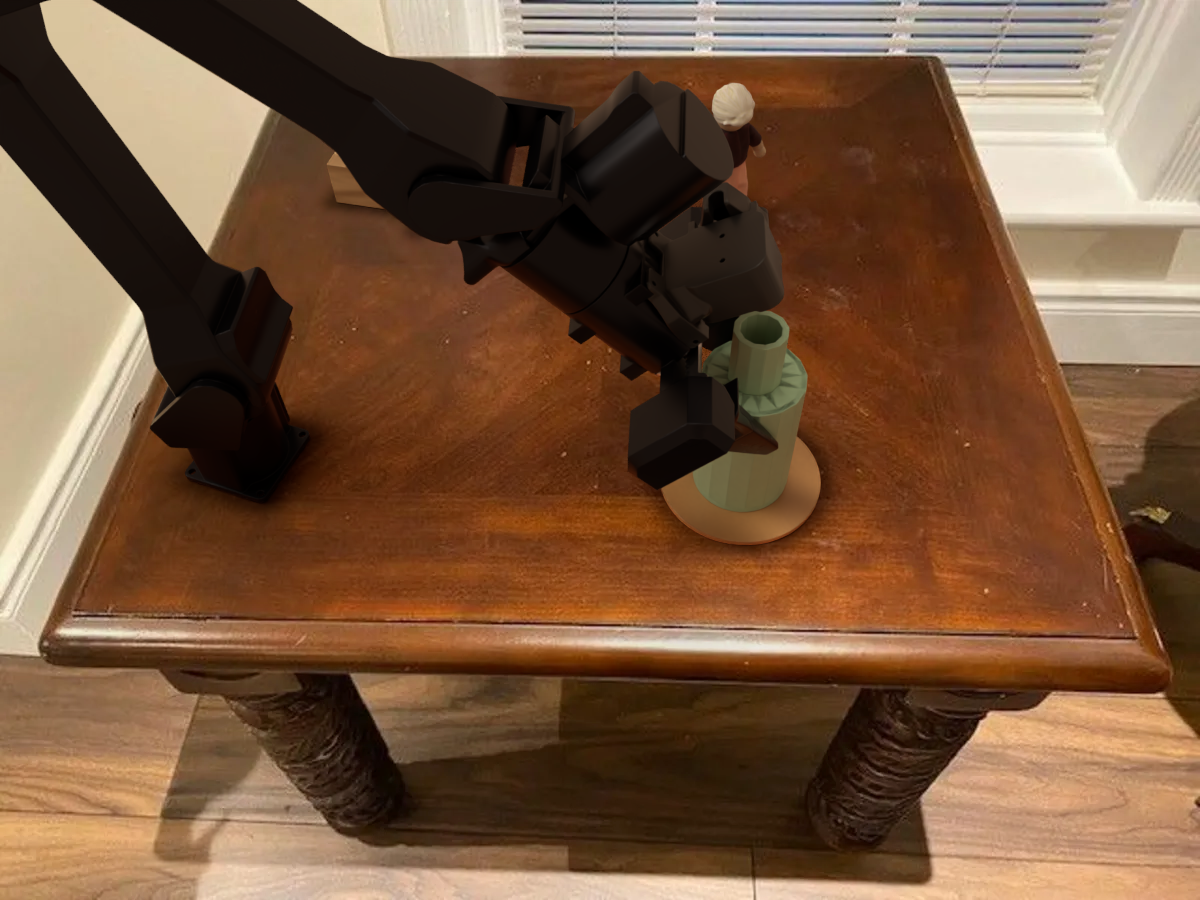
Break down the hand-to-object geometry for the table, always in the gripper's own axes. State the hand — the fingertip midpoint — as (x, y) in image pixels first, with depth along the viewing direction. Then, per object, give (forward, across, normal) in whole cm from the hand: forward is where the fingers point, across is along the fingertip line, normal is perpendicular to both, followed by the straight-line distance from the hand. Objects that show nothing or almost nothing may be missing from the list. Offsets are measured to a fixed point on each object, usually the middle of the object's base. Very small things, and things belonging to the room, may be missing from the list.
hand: (770, 408), depth 65 cm
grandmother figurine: (+4, +28, +7) cm, 29 cm away
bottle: (+4, 0, +6) cm, 7 cm away
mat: (+4, 0, +6) cm, 8 cm away
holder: (-16, +33, +27) cm, 45 cm away
